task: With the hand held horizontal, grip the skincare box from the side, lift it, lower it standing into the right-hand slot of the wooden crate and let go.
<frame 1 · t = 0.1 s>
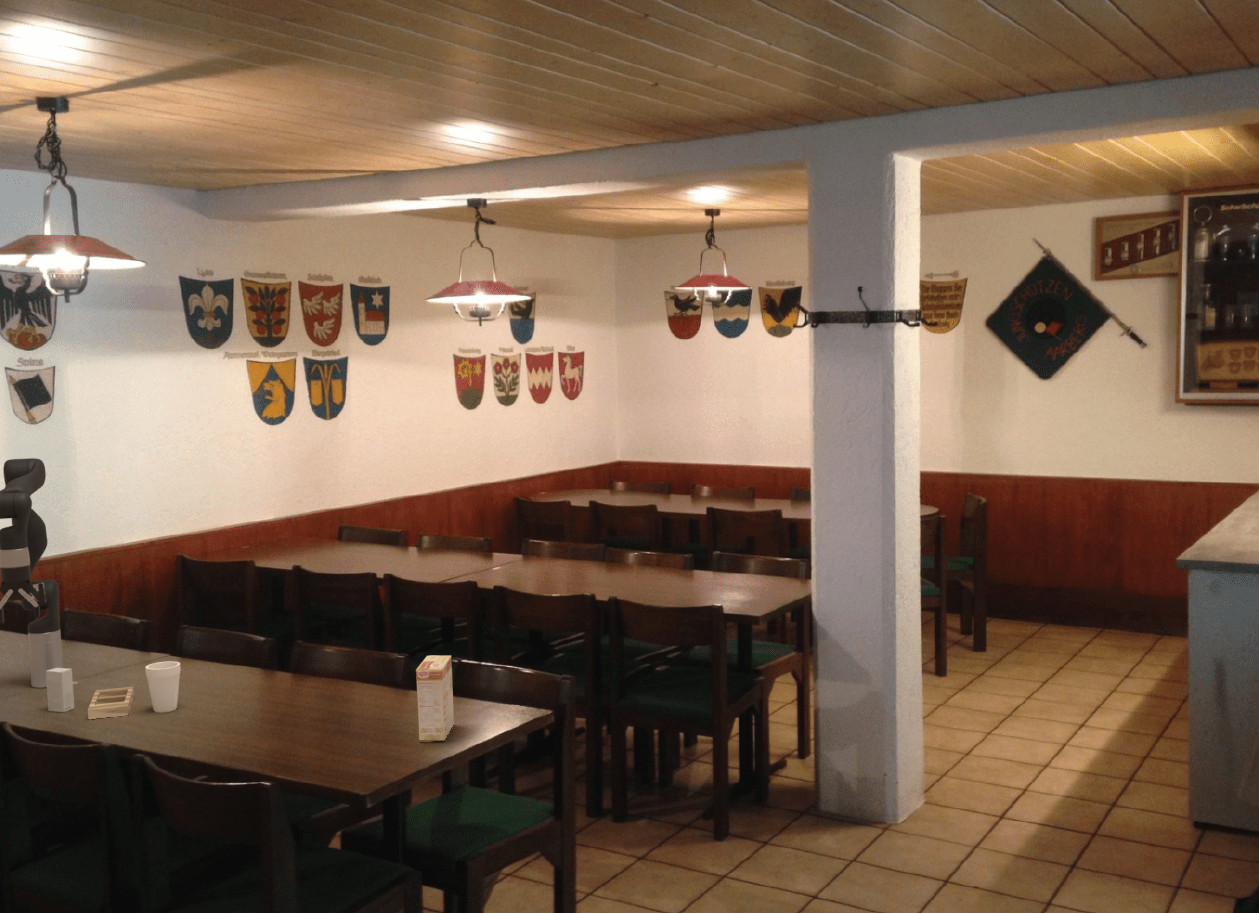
hand: (19, 621, 337), 29 cm above the table, tool pointing down, fingers open, 8 cm apart
coffeecake box: (437, 734, 320), on the table
skincare box: (61, 710, 352), on the table
foam cup: (165, 710, 350), on the table
wooden crate: (111, 707, 352), on the table
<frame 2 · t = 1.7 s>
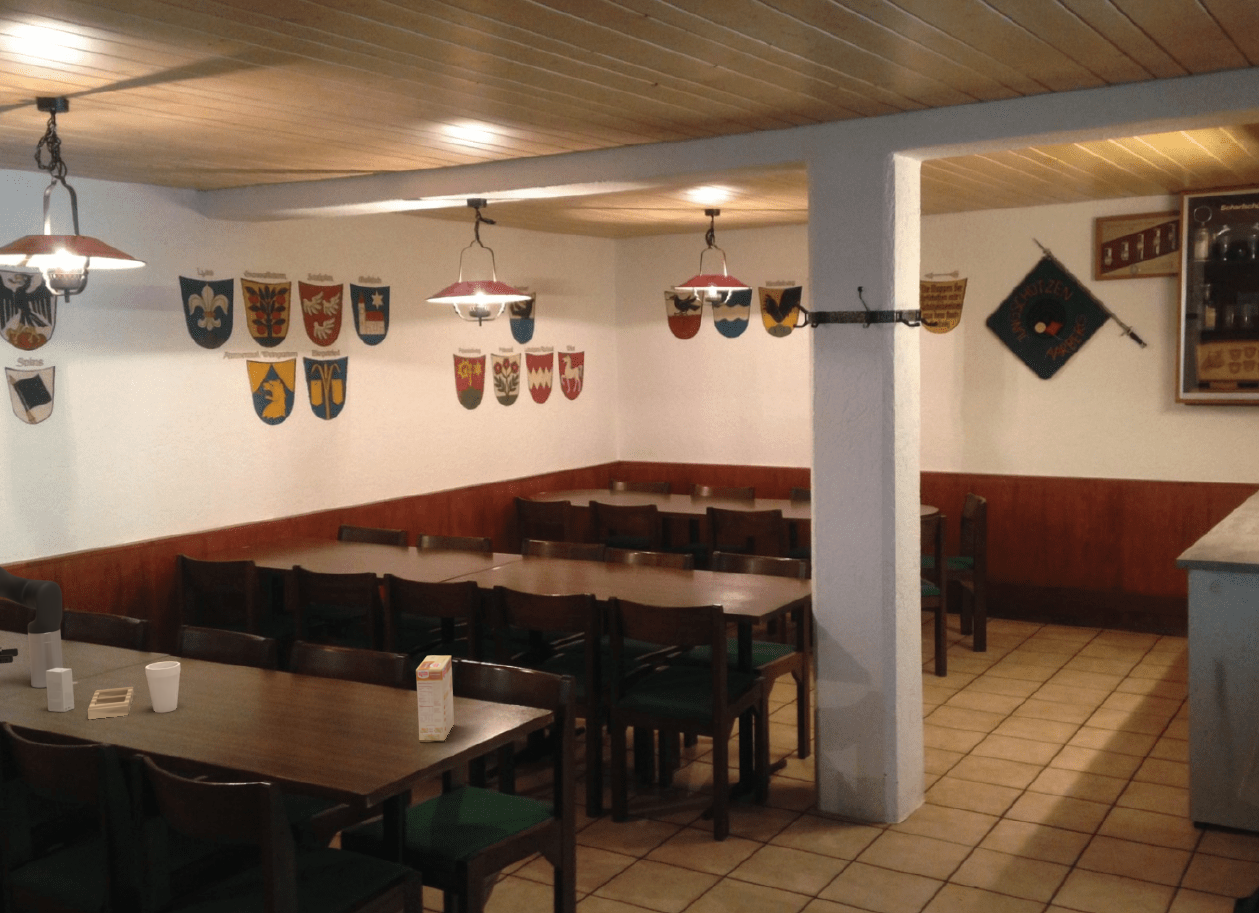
hand: (15, 655, 347), 17 cm above the table, tool horizontal, fingers open, 8 cm apart
nothing on the table moved.
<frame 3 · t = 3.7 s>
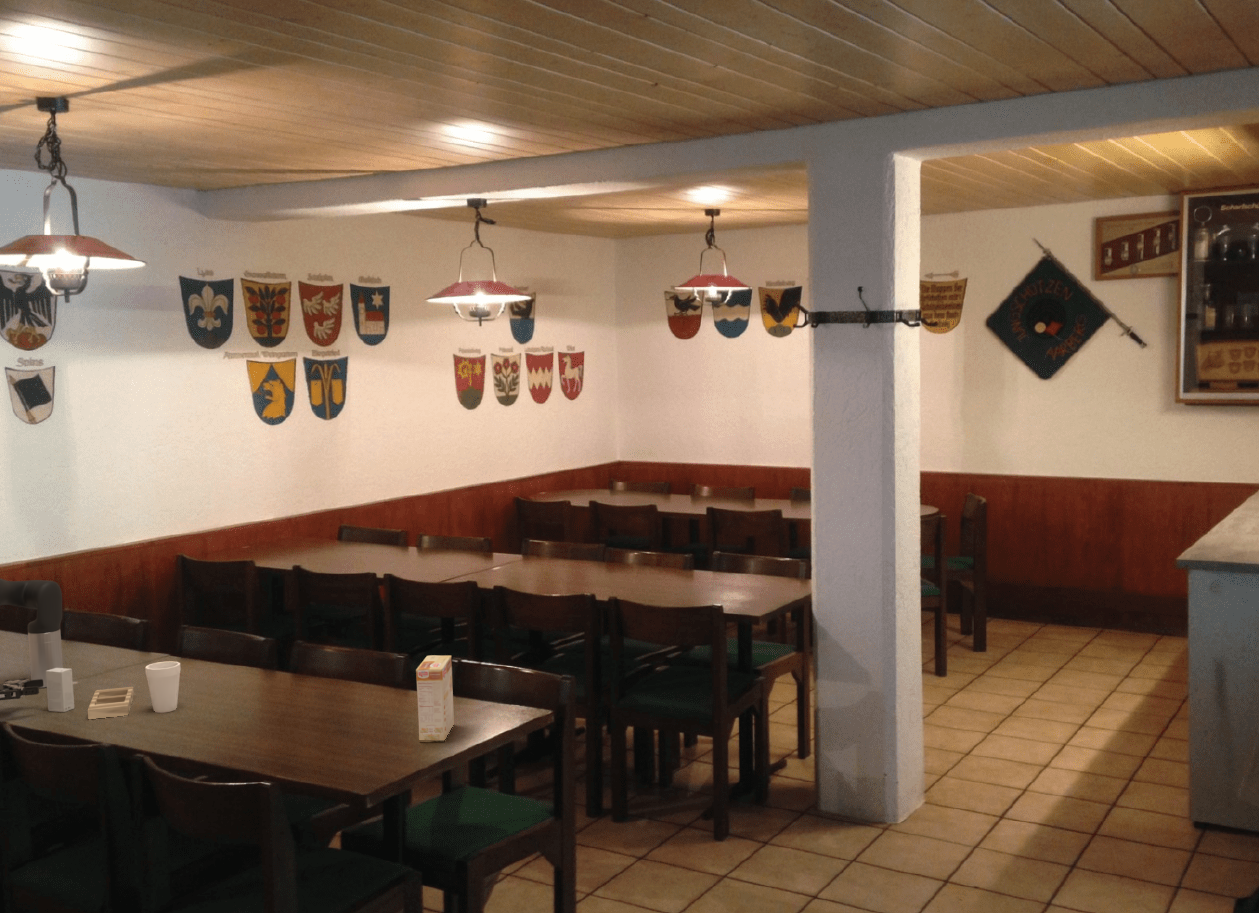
hand: (41, 686, 350), 8 cm above the table, tool horizontal, fingers open, 8 cm apart
nothing on the table moved.
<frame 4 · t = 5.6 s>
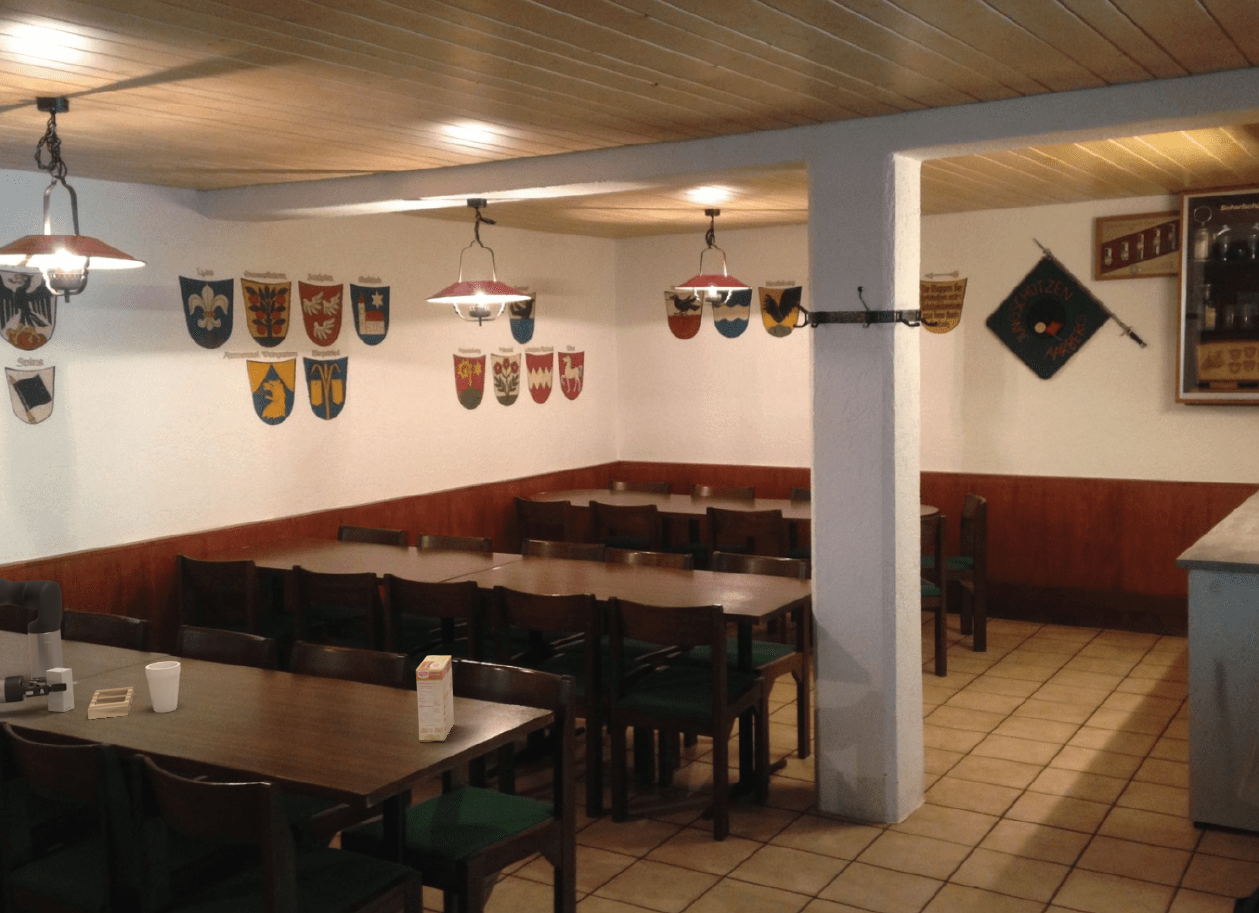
hand: (68, 683, 352), 8 cm above the table, tool horizontal, fingers closed on skincare box, 7 cm apart
skincare box: (61, 710, 352), on the table, touching gripper
everything else where it was.
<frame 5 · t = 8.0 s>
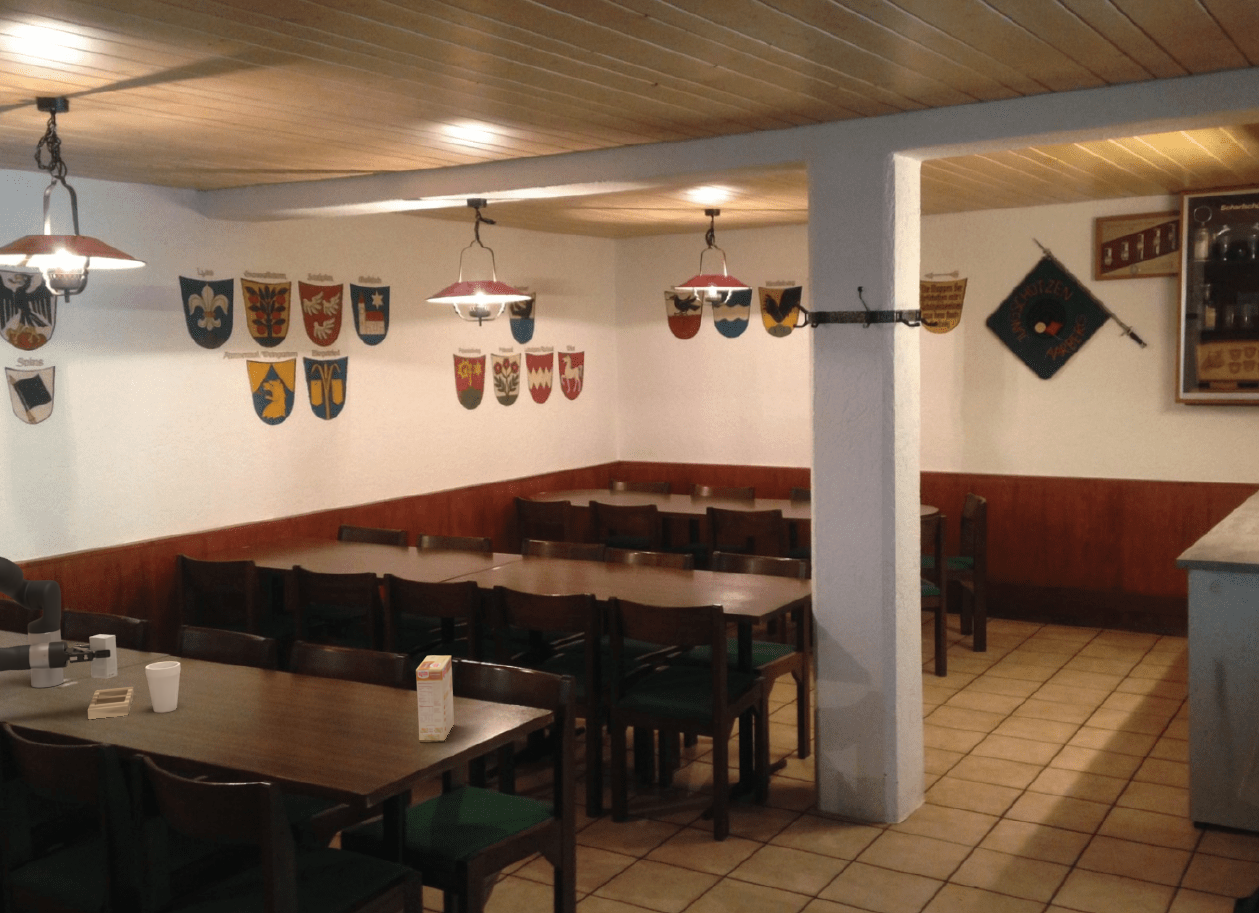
hand: (111, 650, 348), 18 cm above the table, tool horizontal, fingers closed on skincare box, 7 cm apart
skincare box: (104, 677, 348), point 10 cm above the table, touching gripper
everything else where it was.
when the fingers open (11 cm above the table, at t = 10.9 s): skincare box stays where it is, resting on wooden crate.
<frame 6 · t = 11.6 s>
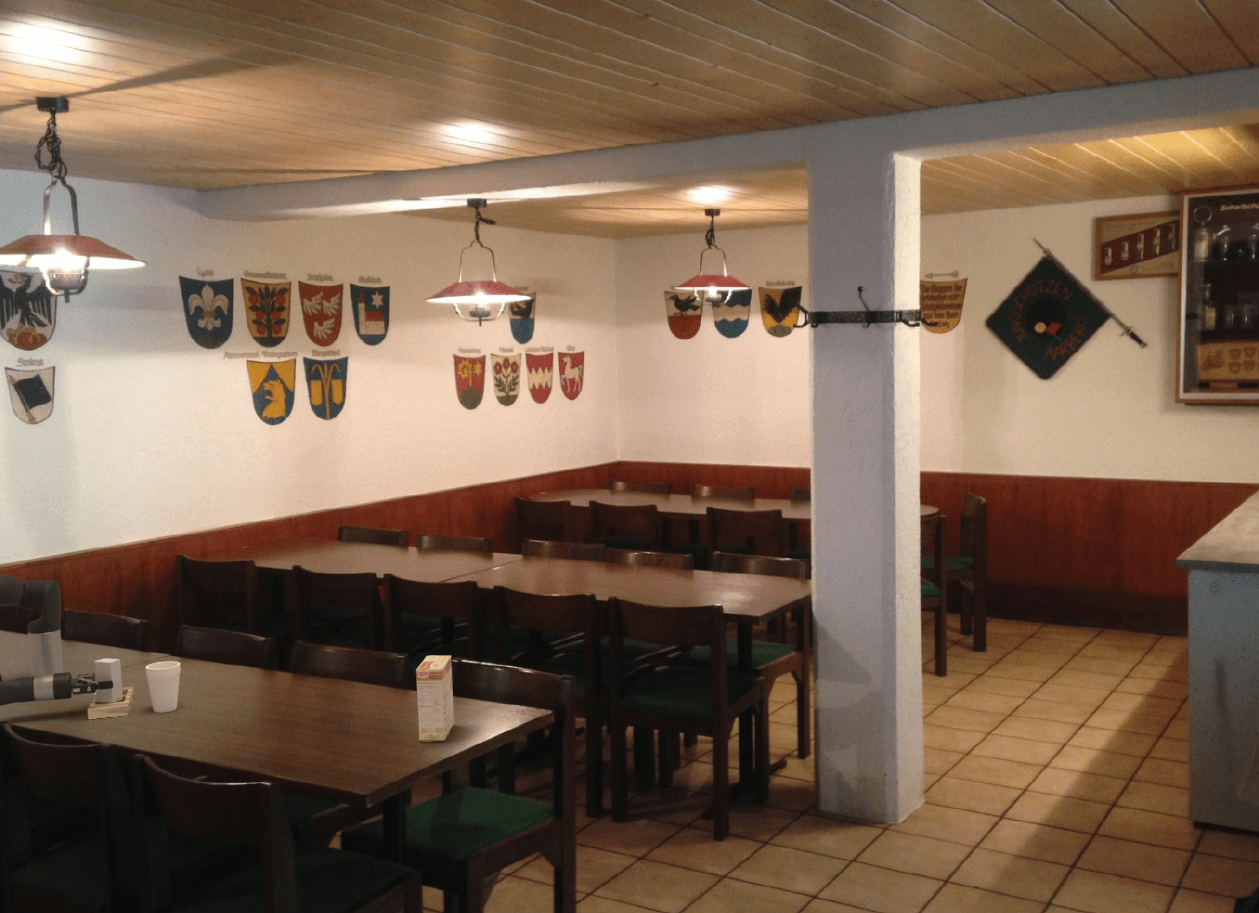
hand: (114, 680, 349), 9 cm above the table, tool horizontal, fingers open, 8 cm apart
skincare box: (109, 701, 349), point 3 cm above the table, touching wooden crate
everything else where it was.
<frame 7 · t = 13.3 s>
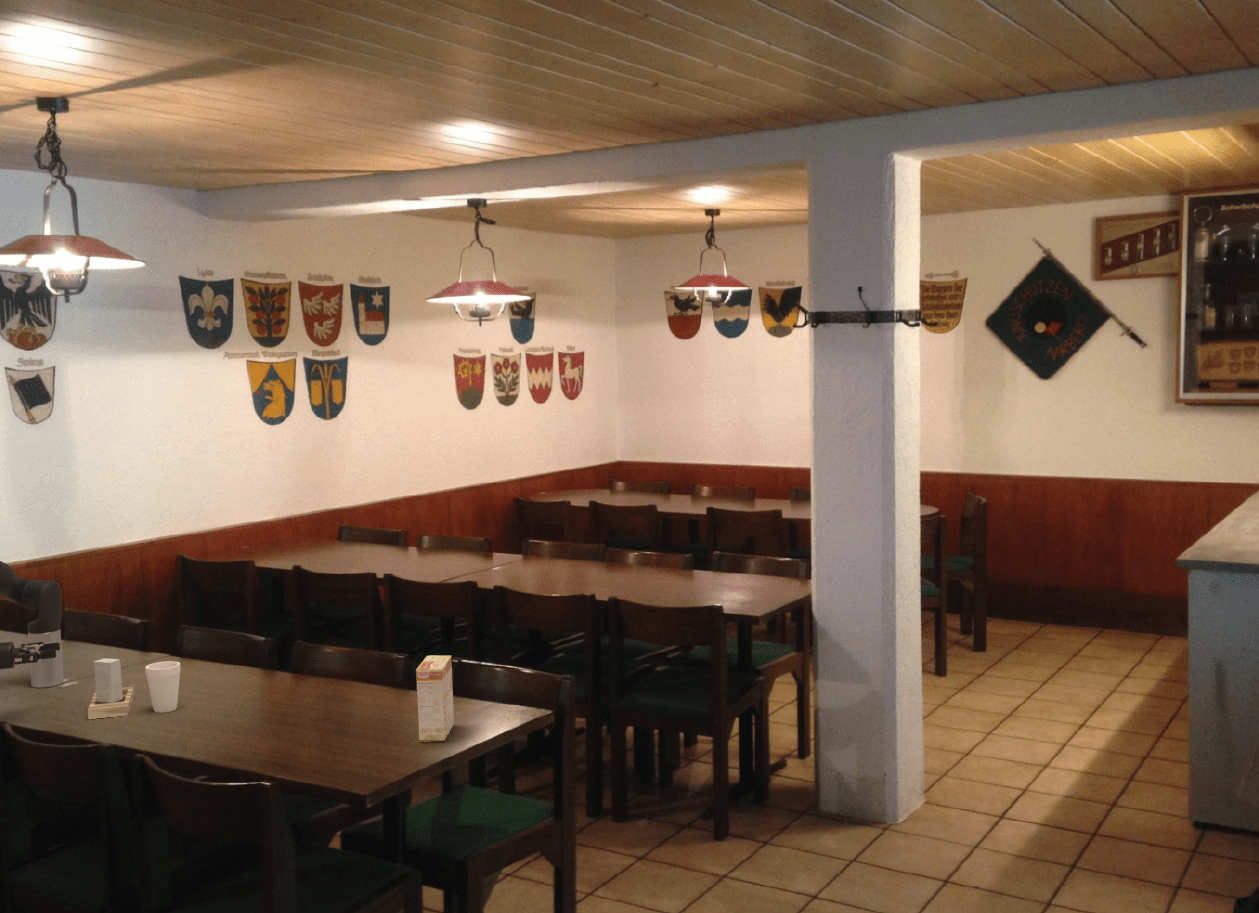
hand: (57, 649, 346), 19 cm above the table, tool horizontal, fingers open, 8 cm apart
nothing on the table moved.
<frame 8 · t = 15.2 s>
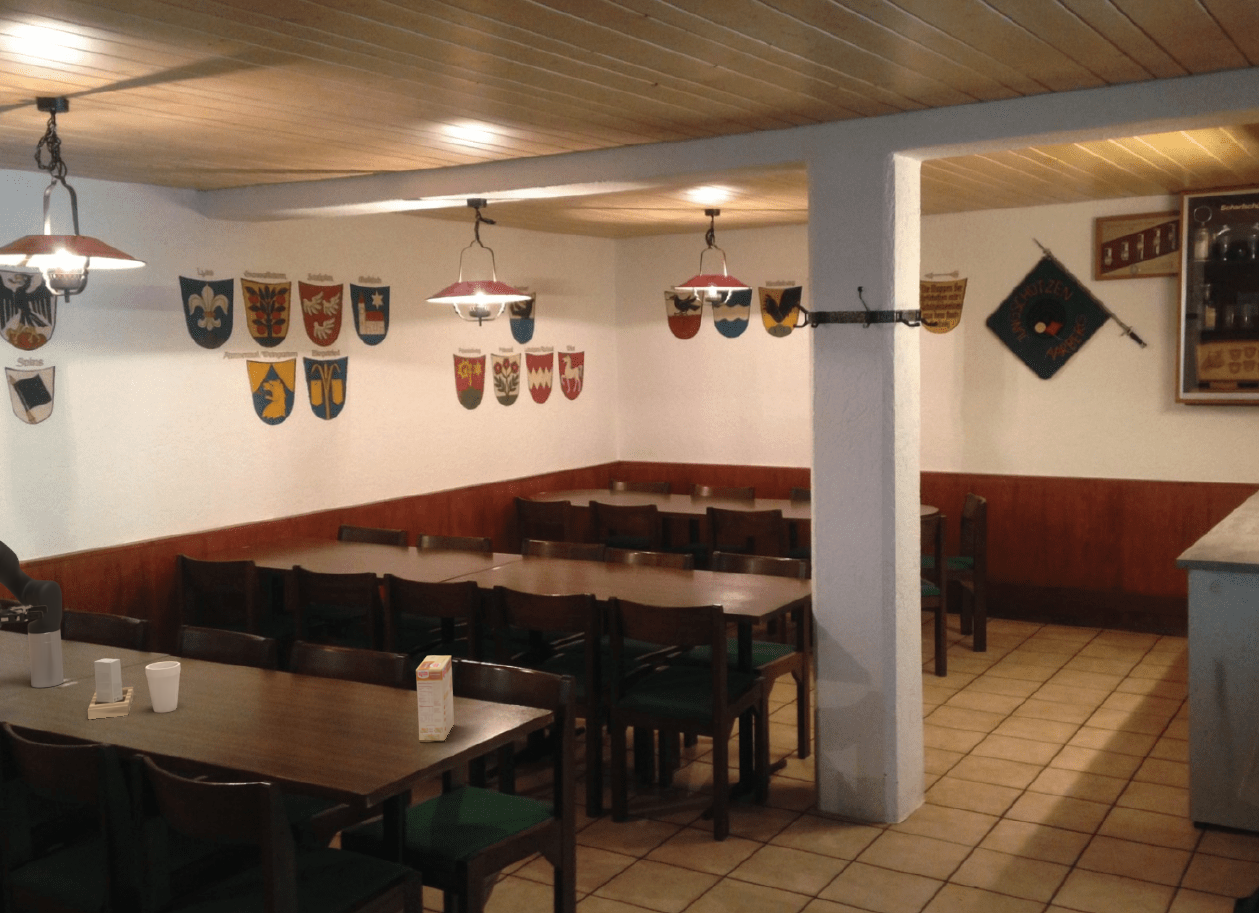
hand: (45, 611, 345), 30 cm above the table, tool horizontal, fingers open, 8 cm apart
nothing on the table moved.
at the end: skincare box 0.3 cm from the target spot on the wooden crate, point 2.8 cm above the wooden crate's base; skincare box tilted 0°; the gripper is holding nothing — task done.
